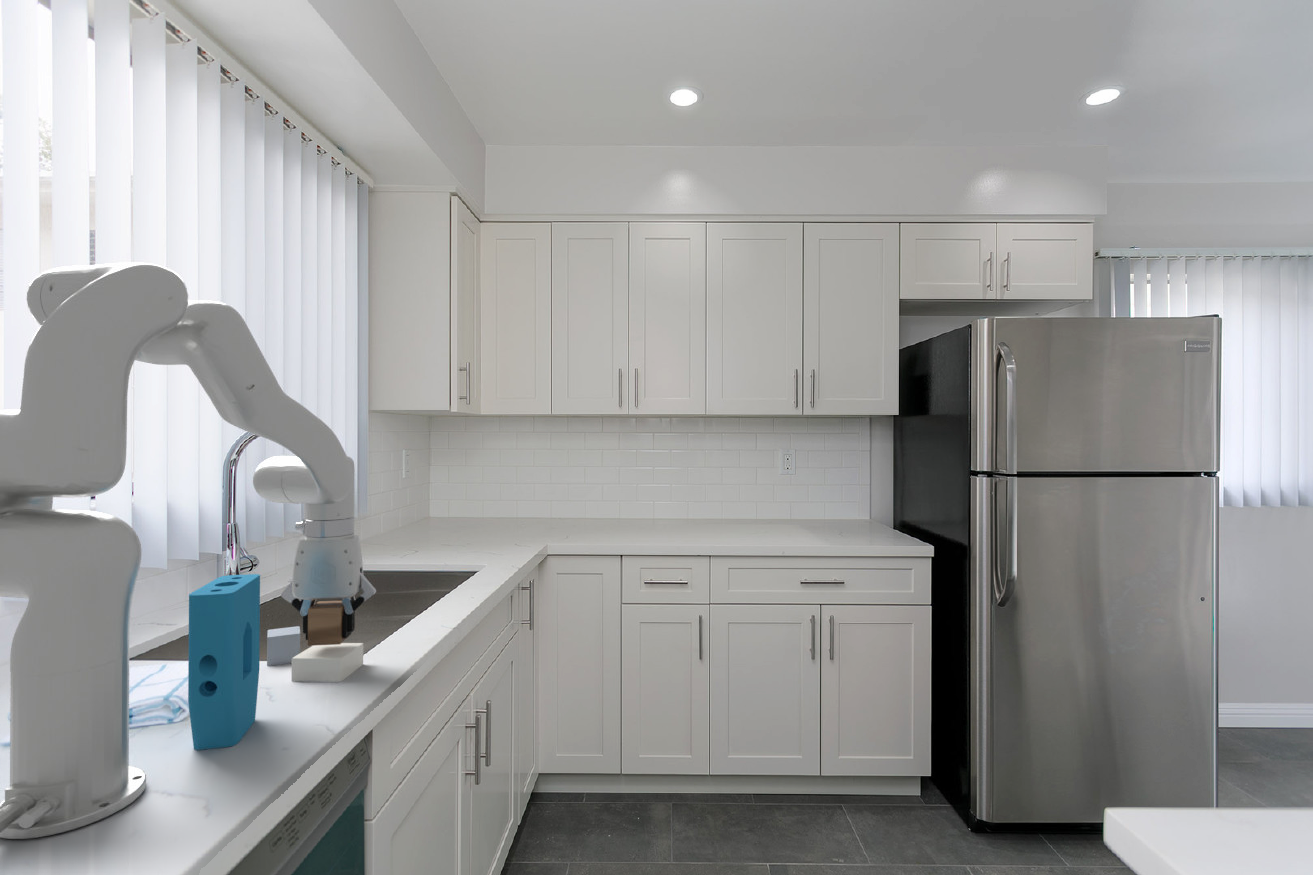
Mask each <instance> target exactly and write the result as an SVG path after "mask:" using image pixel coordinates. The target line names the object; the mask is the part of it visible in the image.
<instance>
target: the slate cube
mask: <svg viewBox="0 0 1313 875" xmlns="http://www.w3.org/2000/svg"><path fill="white" fill-rule="evenodd" d="M266 633H267V637H266V638H267V641H266V642H267V643H266V644H267V645H266V656H267V657H266V666H267V667H269V666H270V667H271V666H276V665H277V666H278V665H283V664H292V658H293V657H295V656H296V655H298V654H300V653H301V628H300V626H291V627H290V626H289V627H288V626H287V627H281V628H280V627H279V628H273V629H268V630H267V632H266Z"/></svg>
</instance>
